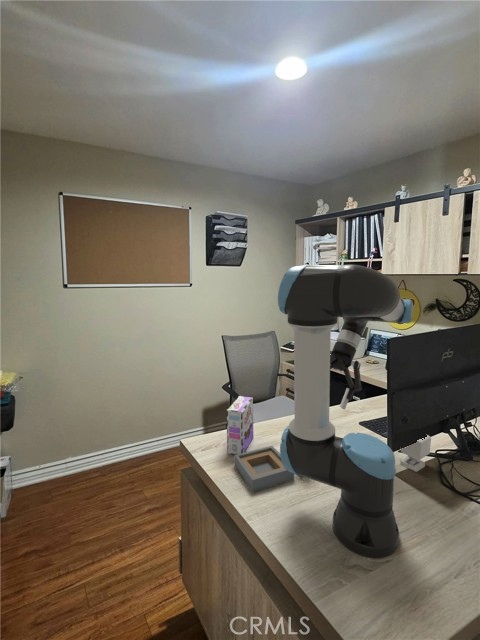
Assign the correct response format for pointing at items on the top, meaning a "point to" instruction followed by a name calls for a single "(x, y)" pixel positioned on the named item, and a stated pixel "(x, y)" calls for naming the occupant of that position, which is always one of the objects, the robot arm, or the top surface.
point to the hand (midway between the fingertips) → (323, 401)
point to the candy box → (239, 425)
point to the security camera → (416, 454)
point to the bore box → (262, 468)
